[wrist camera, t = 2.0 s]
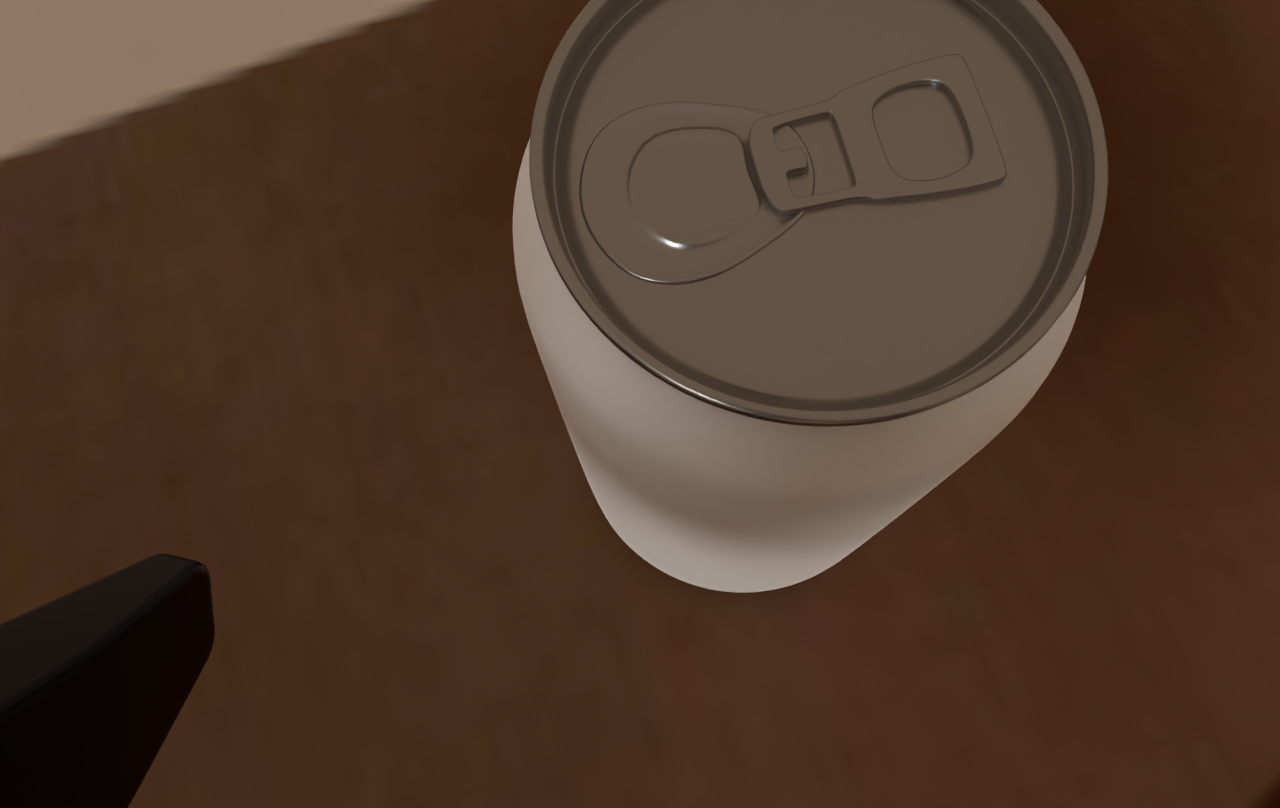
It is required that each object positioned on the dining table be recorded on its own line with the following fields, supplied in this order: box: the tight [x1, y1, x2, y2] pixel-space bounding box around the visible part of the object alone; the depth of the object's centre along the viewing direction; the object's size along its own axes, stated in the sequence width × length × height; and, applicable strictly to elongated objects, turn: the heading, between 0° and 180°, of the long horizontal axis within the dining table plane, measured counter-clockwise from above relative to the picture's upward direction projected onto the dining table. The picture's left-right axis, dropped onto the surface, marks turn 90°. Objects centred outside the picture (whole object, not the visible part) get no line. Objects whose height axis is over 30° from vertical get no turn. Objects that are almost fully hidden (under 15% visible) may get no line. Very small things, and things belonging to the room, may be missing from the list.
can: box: [513, 0, 1109, 593], centre depth 16 cm, size 6×6×12 cm
